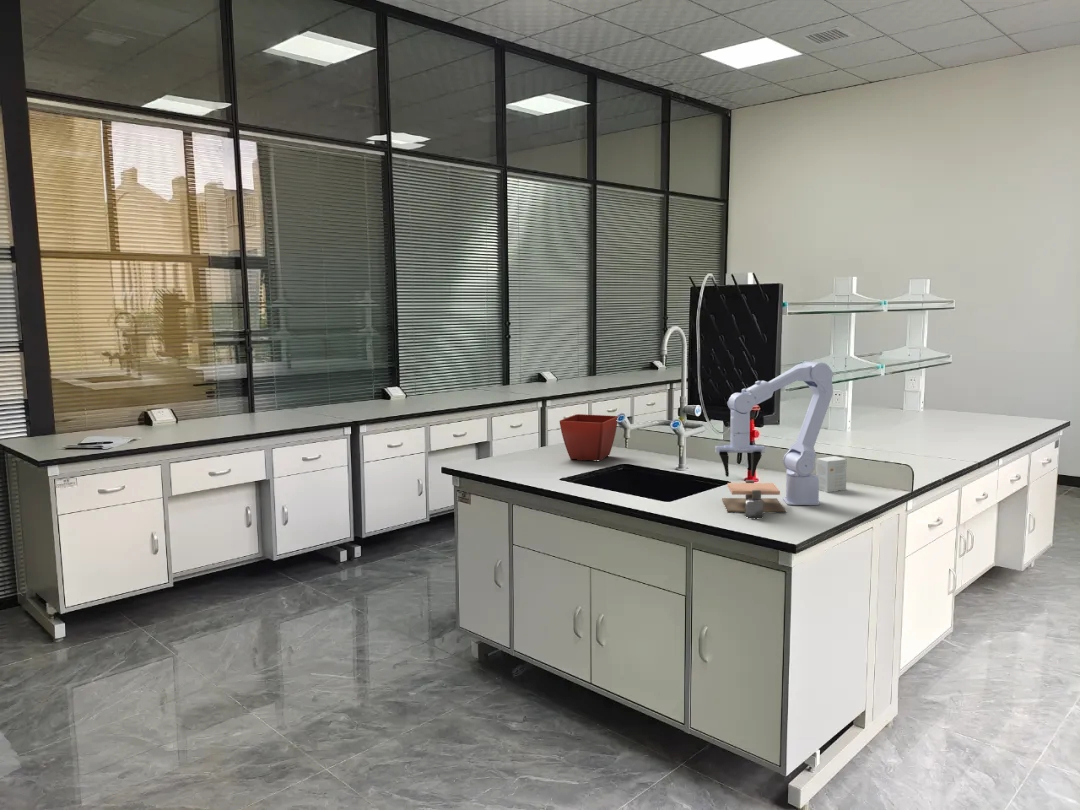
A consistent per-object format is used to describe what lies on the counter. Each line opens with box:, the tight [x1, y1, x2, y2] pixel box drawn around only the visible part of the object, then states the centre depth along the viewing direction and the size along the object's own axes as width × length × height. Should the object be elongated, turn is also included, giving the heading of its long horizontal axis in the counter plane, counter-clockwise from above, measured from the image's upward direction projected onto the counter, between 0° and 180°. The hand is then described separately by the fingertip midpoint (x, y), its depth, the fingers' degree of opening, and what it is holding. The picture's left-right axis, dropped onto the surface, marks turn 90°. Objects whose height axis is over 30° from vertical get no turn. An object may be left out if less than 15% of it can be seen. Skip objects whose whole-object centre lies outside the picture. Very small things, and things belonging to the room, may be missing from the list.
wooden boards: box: [721, 479, 787, 513], centre depth 236 cm, size 17×15×6 cm
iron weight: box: [744, 498, 764, 520], centre depth 224 cm, size 5×5×5 cm
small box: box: [815, 455, 848, 493], centre depth 254 cm, size 8×6×10 cm
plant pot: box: [559, 413, 619, 461], centre depth 317 cm, size 19×19×17 cm
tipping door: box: [727, 482, 781, 496], centre depth 236 cm, size 14×12×1 cm
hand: (739, 475), depth 236 cm, fingers open, 7 cm apart
